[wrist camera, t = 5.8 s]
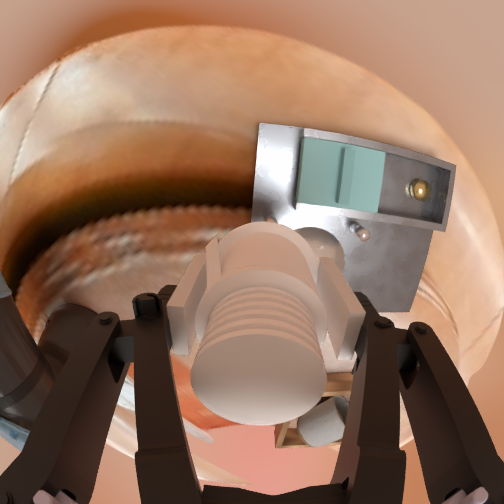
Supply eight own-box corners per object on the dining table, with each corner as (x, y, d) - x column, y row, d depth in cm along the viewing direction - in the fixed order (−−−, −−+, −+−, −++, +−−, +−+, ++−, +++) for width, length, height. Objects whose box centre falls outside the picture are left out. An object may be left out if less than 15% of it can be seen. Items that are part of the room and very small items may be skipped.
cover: (295, 200, 26) (299, 204, 23) (301, 138, 24) (306, 136, 21) (371, 209, 26) (381, 215, 23) (379, 152, 24) (390, 152, 21)
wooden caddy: (274, 431, 43) (275, 448, 40) (289, 373, 38) (292, 392, 34) (348, 427, 44) (352, 442, 40) (379, 370, 38) (387, 386, 34)
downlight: (341, 280, 18) (399, 385, 8) (265, 340, 19) (262, 458, 10) (259, 191, 16) (249, 230, 7) (183, 266, 18) (112, 363, 8)
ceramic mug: (291, 410, 41) (295, 446, 34) (330, 387, 39) (340, 424, 32) (324, 428, 44) (331, 459, 36) (360, 408, 42) (371, 439, 34)
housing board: (244, 298, 33) (243, 321, 28) (259, 125, 26) (260, 118, 22) (403, 304, 34) (419, 324, 29) (435, 159, 27) (459, 163, 22)
